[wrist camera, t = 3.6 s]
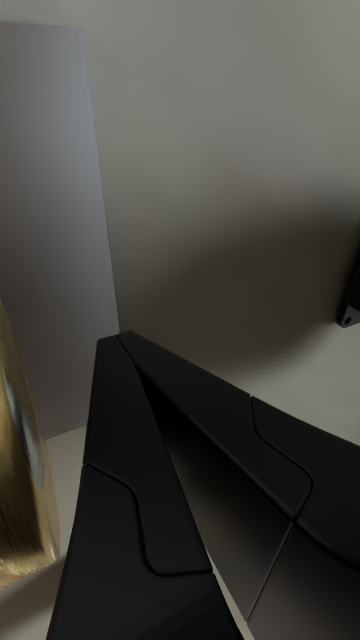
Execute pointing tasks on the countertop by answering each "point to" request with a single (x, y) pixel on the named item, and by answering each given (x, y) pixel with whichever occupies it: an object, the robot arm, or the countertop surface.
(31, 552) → the shaft
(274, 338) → the countertop surface
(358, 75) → the countertop surface
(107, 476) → the robot arm
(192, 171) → the countertop surface
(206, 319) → the countertop surface
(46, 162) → the bearing block
